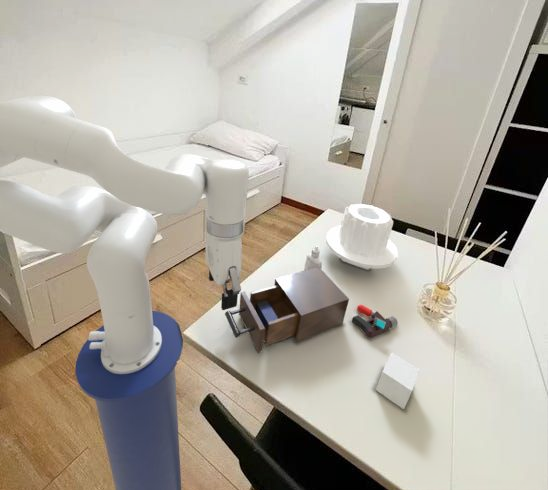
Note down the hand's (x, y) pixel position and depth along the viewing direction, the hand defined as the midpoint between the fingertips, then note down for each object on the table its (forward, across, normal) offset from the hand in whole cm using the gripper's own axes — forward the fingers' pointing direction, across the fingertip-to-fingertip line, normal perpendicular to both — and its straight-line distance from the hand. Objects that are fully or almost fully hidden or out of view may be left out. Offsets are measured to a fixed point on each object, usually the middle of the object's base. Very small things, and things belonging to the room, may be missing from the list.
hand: (222, 292), depth 63 cm
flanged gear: (+16, -15, +57) cm, 61 cm away
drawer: (+15, 0, +11) cm, 19 cm away
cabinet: (+16, 0, +25) cm, 29 cm away
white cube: (+16, +25, +32) cm, 43 cm away
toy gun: (+16, +9, +40) cm, 44 cm away
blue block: (+14, 0, +12) cm, 19 cm away
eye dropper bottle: (+16, -12, +34) cm, 40 cm away
